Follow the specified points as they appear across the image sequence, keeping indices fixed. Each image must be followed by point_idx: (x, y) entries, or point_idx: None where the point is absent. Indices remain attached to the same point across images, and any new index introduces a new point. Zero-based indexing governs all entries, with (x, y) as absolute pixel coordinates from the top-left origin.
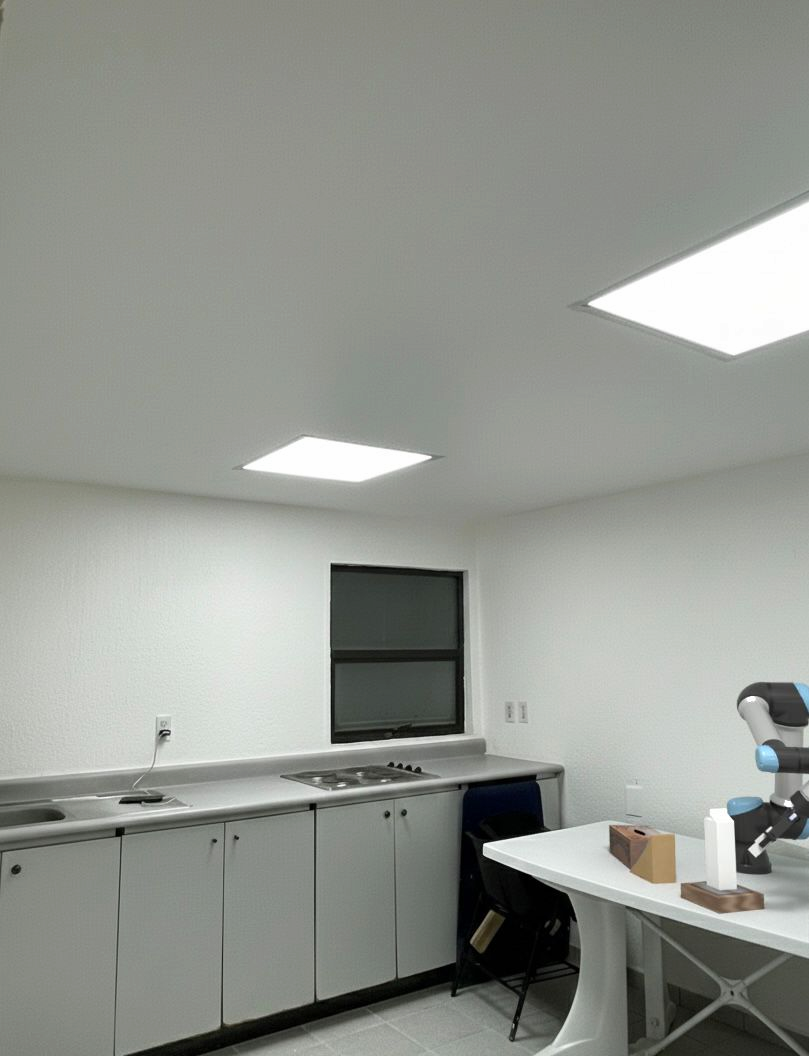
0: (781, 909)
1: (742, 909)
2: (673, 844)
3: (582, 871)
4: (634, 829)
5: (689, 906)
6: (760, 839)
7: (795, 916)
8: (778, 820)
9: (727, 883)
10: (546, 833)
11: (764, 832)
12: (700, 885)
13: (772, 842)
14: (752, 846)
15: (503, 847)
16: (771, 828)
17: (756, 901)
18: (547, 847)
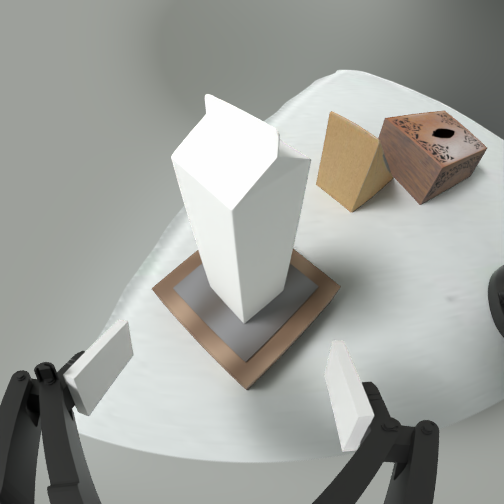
0: (264, 425)
1: (200, 344)
2: (369, 156)
3: (315, 116)
4: (453, 130)
5: (189, 248)
6: (82, 358)
7: (218, 452)
8: (345, 480)
9: (223, 297)
10: (438, 101)
11: (39, 366)
12: None
13: (78, 410)
14: (108, 332)
15: (353, 74)
16: (353, 421)
17: (228, 372)
18: (391, 96)
